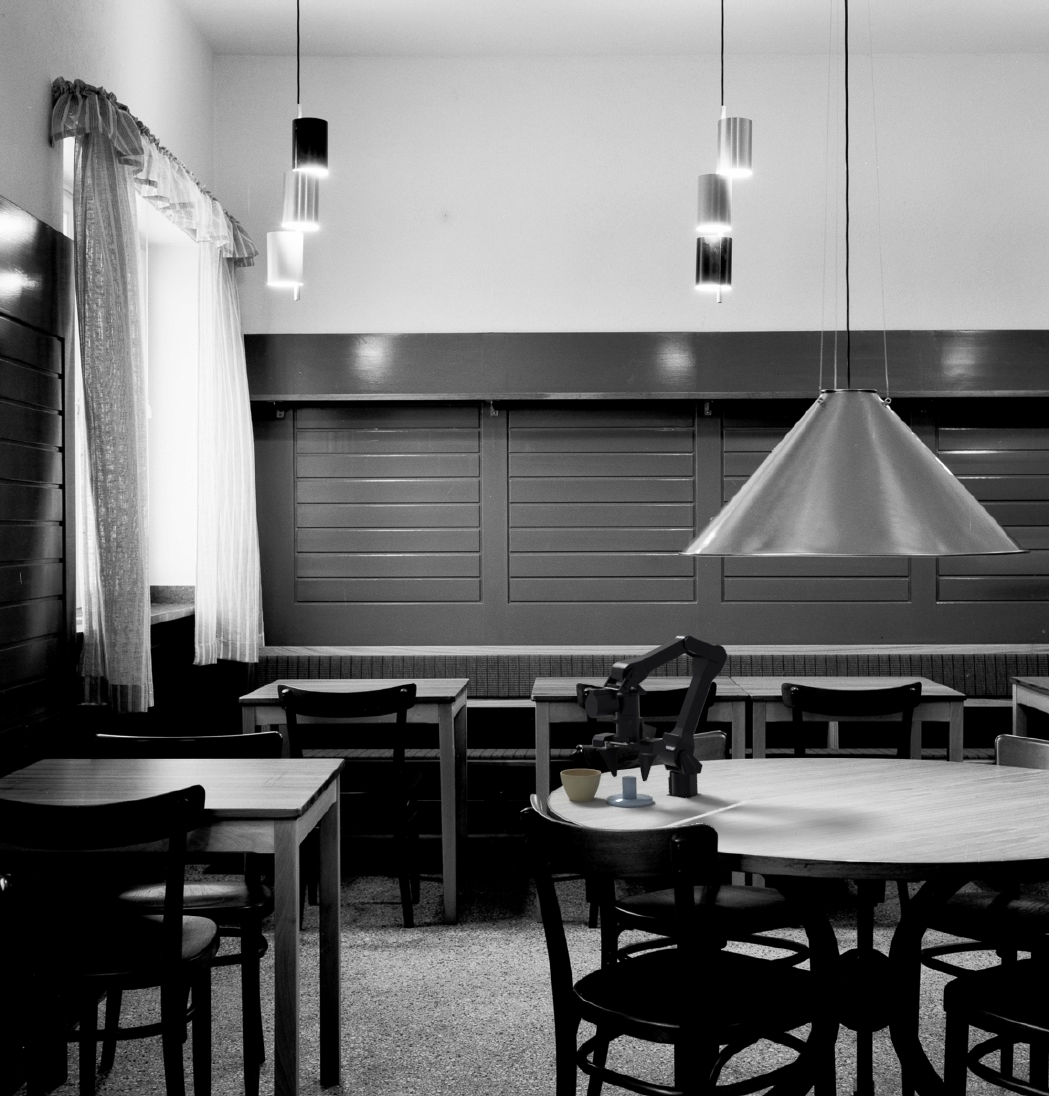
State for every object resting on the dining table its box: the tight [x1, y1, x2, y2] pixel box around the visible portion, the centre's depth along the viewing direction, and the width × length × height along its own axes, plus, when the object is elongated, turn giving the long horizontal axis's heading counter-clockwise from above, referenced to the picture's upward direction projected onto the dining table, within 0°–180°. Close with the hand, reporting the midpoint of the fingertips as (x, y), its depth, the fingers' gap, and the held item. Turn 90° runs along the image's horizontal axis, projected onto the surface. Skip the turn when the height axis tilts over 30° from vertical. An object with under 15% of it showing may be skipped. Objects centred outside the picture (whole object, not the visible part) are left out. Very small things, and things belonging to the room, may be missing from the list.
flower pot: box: [560, 768, 602, 803], centre depth 281 cm, size 10×10×7 cm
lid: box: [606, 775, 654, 808], centre depth 275 cm, size 11×11×6 cm
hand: (629, 778), depth 276 cm, fingers open, 9 cm apart
